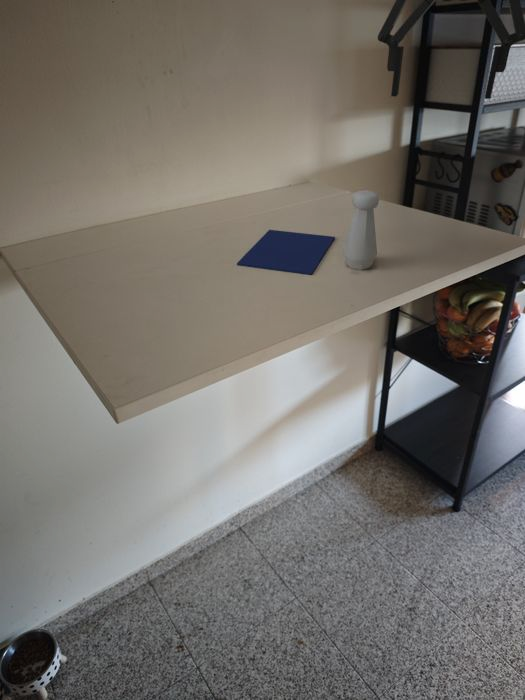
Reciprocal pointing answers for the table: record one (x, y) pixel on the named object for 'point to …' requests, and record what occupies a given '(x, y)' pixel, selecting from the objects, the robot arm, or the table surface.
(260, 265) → the cloth
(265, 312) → the table surface
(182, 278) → the table surface
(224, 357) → the table surface
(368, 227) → the salt shaker
